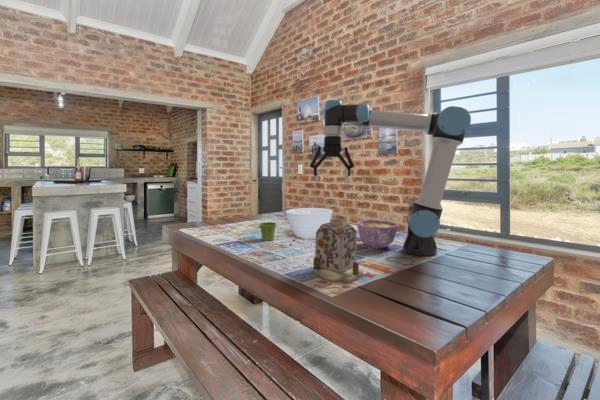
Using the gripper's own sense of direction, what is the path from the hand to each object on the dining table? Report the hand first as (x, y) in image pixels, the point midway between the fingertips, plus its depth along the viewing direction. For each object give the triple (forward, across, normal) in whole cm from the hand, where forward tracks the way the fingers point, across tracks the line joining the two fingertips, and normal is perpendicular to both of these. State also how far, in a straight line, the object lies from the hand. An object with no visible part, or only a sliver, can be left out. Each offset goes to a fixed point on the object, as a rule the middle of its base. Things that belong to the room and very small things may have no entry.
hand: (331, 183), depth 147 cm
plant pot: (+32, +28, -25) cm, 49 cm away
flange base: (+32, +4, +30) cm, 44 cm away
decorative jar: (+30, +5, +28) cm, 42 cm away
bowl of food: (+32, -25, -6) cm, 41 cm away
